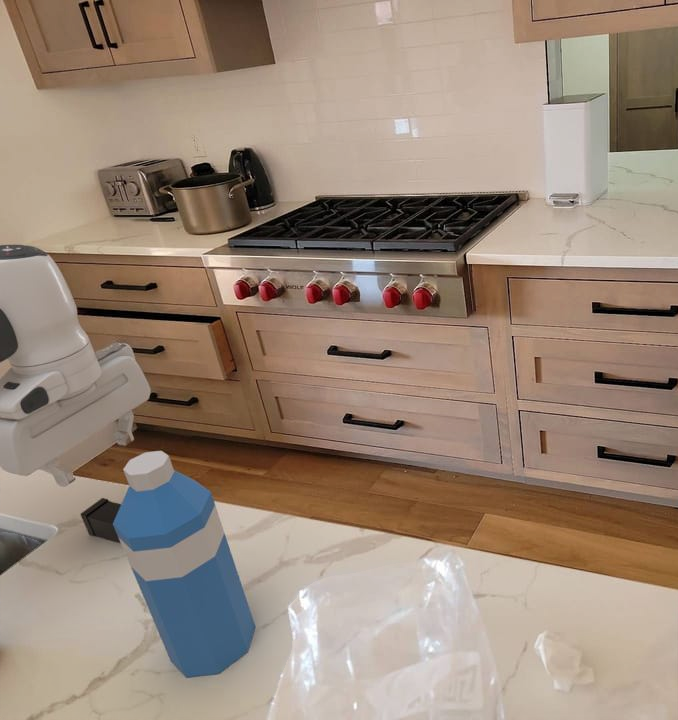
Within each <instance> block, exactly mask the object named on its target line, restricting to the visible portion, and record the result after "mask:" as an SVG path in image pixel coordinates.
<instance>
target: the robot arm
mask: <svg viewBox="0 0 678 720" xmlns="http://www.w3.org/2000/svg"><path fill="white" fill-rule="evenodd" d="M6 360H8V362H9V365H10V368H9V369H8V370H7V371H6V372H5V373H4V374H3V375H2V376H1V377H0V468H1V469H2V470H3V471H5V472H7V473H9V474H12V475H17V476H21V477H28V476H30V475H32V474H33V473H35V472H36V471H37V470H41V471H44V472H46V473H48V474H49V475H51V476H52V477H53V480H54V481H55V483H56V484H57V485H58V486H60V487H63V488H65V487H67V486H69V485H71V484H72V483H73V482H74V481H76V476H74V472H73V469H72V468H71V469H70V468H66V467H61V468H58V467H57V466H59V464H60V463H59V460H58V458H59V457H60V456H61V455H64V454H65V453H67V452H68V451H69V450H71V449H72V448H74V447H76V446H77V445H79V444H81V443H82V442H83V441H85V440H87V439H88V438H91V437H92V436H93V435H95V434H97V433H98V432H99V431H101V430H102V429H104V428H106V427H107V426H109V425H111V424H112V423H113V422H115V421H117V420H118V421H117V422H118V425H117V431H115V432H114V433H113V437H114V439H115V441H116V443H117V445H118V446H123V447H126V446H128V445H129V444H130V443H132V442H133V441H134V440H135V437H134V435H133V432H132V429H133V423H134V418H135V415H134V412H133V410H134V409H136V408H138V407H139V406H141V405H143V404H144V403H145V402H147V401H148V400H149V399H150V396H151V391H152V389H151V387H150V383H149V382H148V380H147V378H146V376H145V374H144V372H143V370H142V368H141V367H140V365H139V364H138V362H137V361H136V356H135V353H134V350H133V348H132V347H131V345H129V344H128V343H126V342H119V341H114V342H113V343H110V344H109V345H107V346H106V347H104V348H101V349H98V350H97V351H95V350H94V348H93V345H92V343H91V340H90V338H89V336H88V334H87V333H86V332H85V330H84V329H83V327H82V326H81V324H80V322H79V318H78V308H77V305H76V302H75V300H74V297H73V294H72V292H71V290H70V288H69V285H68V283H67V281H66V279H65V277H64V275H63V273H62V271H61V270H60V268H59V266H58V265H57V263H56V262H55V260H54V259H53V258H52V256H51V255H50V254H48V253H47V252H46V251H44V250H42V249H40V248H38V247H36V246H33V245H24V244H1V245H0V363H2V362H4V361H6Z"/></svg>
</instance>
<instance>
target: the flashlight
mask: <svg viewBox="0 0 678 720" xmlns="http://www.w3.org/2000/svg"><path fill="white" fill-rule="evenodd" d="M121 504H122V503H118V502H114V501H110V500H109V499H108V498H104V497H101V498H99V500H97V501H96V502H95V503H93V504H92V505H90V506H89V507H88V508H86V509H85V510H83V511H82V512H80V514H79V515H80V518H81V519H82V522H83V524H84V527H85V529H86V531H87V533H88V535H89V536H93V537H97V538H101V539H104V540H108V541H111V542H115V543H119V544H121V542H120V540H119V538H118V535H117V533H116V531H115V528H114V526H113V522H114V520H115V518H116V515H117V513H118V511H119V509H120V506H121Z"/></svg>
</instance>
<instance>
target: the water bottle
mask: <svg viewBox="0 0 678 720" xmlns="http://www.w3.org/2000/svg"><path fill="white" fill-rule="evenodd" d="M122 470H123V473H124V476H125V478H126V480H127V483H128V488H127V491H126V493H125V495H124V496H123V500H122V502H121V503H120V504H121V506H120V509H119V511H118V513H117V515H116V518H115V520H114V522H113V526H114V528H115V531H116V533H117V535H118V538H119V540H120V542H121V543H120V545H121V547H122V550H123V552H124V554H125V556H126V560H127V561H128V564H129V565H130V568H131V571H132V573H133V576H134V578H135V581H136V582H137V585H138V587H139V590H140V592H141V595H142V596H143V600H144V601H145V604H146V606H147V609H148V611H149V614H150V616H151V618H152V621H153V622H154V625H155V628H156V630H157V632H158V635H159V637H160V639H161V642H162V645H163V646H164V649H165V651H166V653H167V657H168V658H169V661H170V662H171V663H172V664H173V666H174V667H175V668H177V670H178V671H179V672H180V673H181V674H182V675H183V676H184V678H186V679H187V678H194V677H195V678H196V677H204V676H213V675H219V674H221V673H223V671H225V670H226V669H228V668H229V667H230V666H231V665H233V664H234V663H235V662H238V660H239V659H241V658H242V657H244V656H245V655H246V654H248V653H249V651H250V647H251V643H252V640H253V636H254V634H255V633H254V632H255V630H256V623H255V621H254V618H253V615H252V612H251V609H250V606H249V603H248V600H247V597H246V593H245V591H244V588H243V584H242V581H241V579H240V575H239V572H238V570H237V566H236V563H235V561H234V558H233V554H232V552H231V549H230V545H229V542H228V539H227V537H226V534H225V533H226V532H225V530H224V526H223V524H222V522H221V518H220V515H219V512H218V509H217V506H216V503H215V500H214V497H213V494H212V492H211V490H209V489H207V488H206V487H205V486H203V485H202V484H201V483H199V482H198V481H196V480H195V479H193V478H192V477H189V476H187V475H185V474H184V473H181V472H180V471H177V470H175V468H174V467H173V464H172V461H171V458H170V456H169V455H168V454H167V453H165V452H164V451H162V450H155V451H146V452H143V453H141V454H139V455H137V456H135V457H133V458H131V459H129V460H128V462H127V463H126V465H125V466H124V467H123V469H122Z"/></svg>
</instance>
